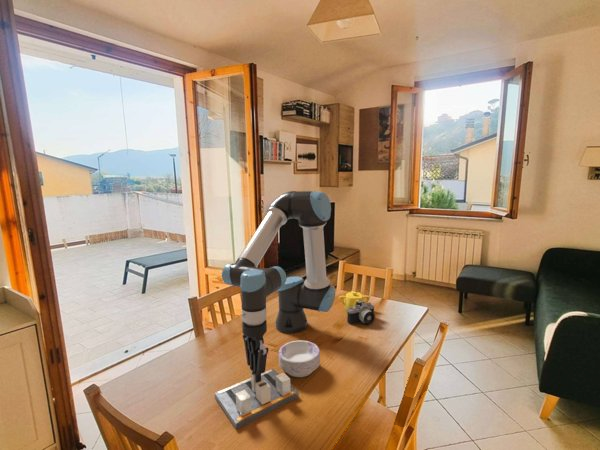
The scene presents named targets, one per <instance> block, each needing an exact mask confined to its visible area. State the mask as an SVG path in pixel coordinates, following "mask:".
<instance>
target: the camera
mask: <svg viewBox="0 0 600 450" xmlns="http://www.w3.org/2000/svg"><path fill="white" fill-rule="evenodd" d="M364 302H365V300H364V301H361V302H359V301H358V302H357V303H356V305H355V307H350V308H349V309H348V313H347V321H346V322H347V324H349V325H351V326H353V325H356V324H360V323H363V324H365V325H367V326H368V325H371V324H372V323H373V322H374V321H375V318H376V315H375V304H373V303H371V302H367V303H366V304H365V303H364Z"/></svg>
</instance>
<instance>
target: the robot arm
mask: <svg viewBox="0 0 600 450" xmlns="http://www.w3.org/2000/svg"><path fill="white" fill-rule="evenodd" d="M331 213H332V205H331V200H330V198H329V196H328V195H327V194H326V193H325V192H323V191H316V190H298V191H297V190H296V191H295V190H291V191H287V192H285V193H283V194H281V195H279V196H277V197H276V198H275V199H274V200H273V201H272V202H271V203H270V204H269V205H268V207H267V208H266V210H265V216H264V217H263V219H262V221H261V223H260V224H259V226H258V227H257V228H256V230H255V231H254V233H253V235H251V238H250V239H249V241H248V243H247V244H246V245H245V247H244V249H243V250H242V251H241V253H240V255H239V256H238V258H237V259H236V261H235V262H234V263H233V262H232V263H227V264H225V266H224V267H223V269H222V271H221V280H222V282H224V284H226V285H228V286H232V287H238V288H240V297H241V299H240V300H241V313H240V316H241V321H242V322H241V327H242V328H241V330H242V339H243V343H244V348H245V356H246V363H247V366H249V369H250V374H251V377H250V378H251V379H252V390H253V392H256V385H255V383H257V382H260V381H261V374H262V373H264V372H266V367H267V358H268V353H269V348H268V347H266V346H264V344H265V341H264V335H265V334H266V333H267V330H268V329H267V328H268V326H267V325H268V324H267V297H268V296H270V295H271V294H272V293H274V292H277V293H278V311H277V315H276V319H275V329H276V330H277V331H280V332H282V333H287V334H294V333H295V334H296V333H300V332H302V331H303V332H304V330H306V329H307V328H308V319H307V316H306V313H305V309H307V310H311V311H317V312H318V313H321V312H322V313H327V312H329V311H330V310H331V309H332V307H333V304H334V301H335V299H336V287H335V286H333V285H331V281H330V280H331V279H329V278H328V277H327V268H326V267H327V265H326V253H325V251H326V250H325V249H326V248H325V235H324V227H325V226H326V224H327V222H328V221H329V220H330V218H331ZM291 219H292V220H293V219H295V220H298V226H299V227H300V228H302V236H303V246H304V259H305V271H306V274H305V275H306V278H305V279H304V278H303V277H302V276H289V277H287V274H286V272H285V270H284V269H283V267H281V266H278V265H277V266H274V265H273V266H271V267H269V268H265V267H258V266H259V264H260V263H261V261H262V259H263V257H264V256H265V254H266V252H267V251H268V249H269V247H270V246H271V244H272V242H273V241H274V239H275V237H276V236H277V234H278V232H279V231H280V228H281V227H282V226H284V225H286V223H287V222H288V220H291Z"/></svg>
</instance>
